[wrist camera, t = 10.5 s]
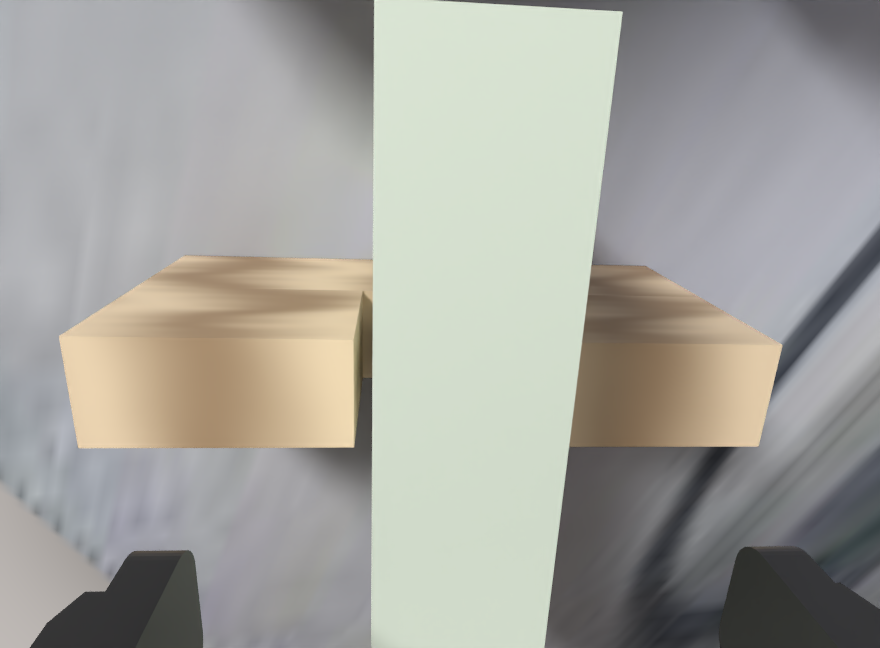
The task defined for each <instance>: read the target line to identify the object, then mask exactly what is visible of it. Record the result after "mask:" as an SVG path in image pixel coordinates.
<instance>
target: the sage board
mask: <svg viewBox="0 0 880 648" xmlns="http://www.w3.org/2000/svg"><path fill="white" fill-rule="evenodd" d="M622 14H623V12H621V11H604V10H587V9H571V8H554V7H537V6H520V5H503V4H486V3H469V2H452V1H435V0H374V133H373V354H372V575H371V648H544V646H545V637H546V629H547V621H548V613H549V605H550V597H551V589H552V581H553V573H554V565H555V556H556V548H557V540H558V532H559V524H560V516H561V508H562V500H563V492H564V484H565V475H566V467H567V459H568V451H569V443H570V435H571V427H572V419H573V411H574V403H575V394H576V386H577V378H578V370H579V362H580V354H581V346H582V338H583V330H584V322H585V313H586V305H587V297H588V289H589V281H590V273H591V265H592V257H593V249H594V241H595V232H596V224H597V216H598V208H599V200H600V192H601V184H602V176H603V168H604V159H605V151H606V143H607V135H608V127H609V119H610V111H611V103H612V95H613V87H614V78H615V70H616V62H617V54H618V46H619V38H620V30H621V22H622Z"/></svg>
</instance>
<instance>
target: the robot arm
mask: <svg viewBox="0 0 880 648" xmlns="http://www.w3.org/2000/svg"><path fill="white" fill-rule="evenodd" d="M719 641H720V648H880V609H878V608H877V607H875V606H874V605H872V604H871V603H870V602H868V601H867V600H865V599H864V598H862V597H861V596H859V595H858V594H856V593H855V592H853V591H852V590H850V589H849V588H847V587H846V586H844V585H843V584H841V583H835V582H834V581H833V580H832V579H831V578H830V577H829V576H828V575H827V574H826V573H825V572H824V571H823V570H822V568H821V567H820V566H819V565H818V564H817V563H816V562H815V561H814V560H813V559H812V558H811V557H810V556H809V555H808V554H807V553H806V552H805V551H804V550H802V549H801V548H798V547H794V546H768V547H744V548H742V549H741V550H740V551H739V553H738V555H737V557H736V560H735V564H734V568H733V573H732V577H731V581H730V585H729V589H728V593H727V597H726V601H725V605H724V609H723V614H722V618H721V622H720V627H719ZM30 648H203V630H202V621H201V612H200V603H199V594H198V585H197V576H196V567H195V560H194V556H193V554H192V552H191V551H189V550H182V551H134V552H132V553H130V555H129V556H128V557H127V558H126V559H125V561H124V562H123V564H122V566H121V567H120V569H119V571H118V572H117V574H116V575H115V577H114V579H113V580H112V582H111V583H110V585H109V587H108V588H107V590H106V591H105V592H84V593H83V594H82V595H81V596H79V597H78V598H77V599H76V600H75V601H73V602H72V603H71V604H70V605H68V606H67V607H66V608H65V609H64V610H62V611H61V612H60V613H59V614H58V615H56V616H55V617H54V618H53V619H52V620H50V621H49V622H48V623H47V624H46V626H45V627H44V628H43V630H42V631H41V633H40V634H39V635H38V637H37V638H36V640H35V641H34V643H33V644H32V645H31V647H30Z"/></svg>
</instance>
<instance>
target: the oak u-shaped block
mask: <svg viewBox="0 0 880 648" xmlns="http://www.w3.org/2000/svg"><path fill="white" fill-rule="evenodd" d="M59 339H60V345H61V351H62V357H63V362H64V368H65V374H66V380H67V385H68V391H69V397H70V403H71V409H72V414H73V420H74V426H75V432H76V437H77V443H78V448H337V447H354V444H355V436H356V428H357V420H358V412H359V404H360V395H361V387H362V379H363V378H372V354H373V260H361V259H317V258H274V257H231V256H187V255H185V256H183V257H182V258H180V259H179V260H177V261H175V262H174V263H172V264H171V265H169V266H168V267H166V268H164V269H163V270H161V271H160V272H158V273H157V274H155V275H154V276H152V277H150V278H149V279H147V280H146V281H144V282H143V283H141V284H140V285H138V286H136V287H135V288H133V289H132V290H130V291H129V292H127V293H126V294H124V295H122V296H121V297H119V298H118V299H116V300H115V301H113V302H112V303H110V304H108V305H107V306H105V307H104V308H102V309H101V310H99V311H98V312H96V313H94V314H93V315H91V316H90V317H88V318H87V319H85V320H84V321H82V322H80V323H79V324H77V325H76V326H74V327H73V328H71V329H69V330H68V331H66V332H65V333H63V334H62V335H60V336H59ZM781 349H782V344H780V343H778V342H776V341H775V340H773V339H771V338H769V337H768V336H766V335H764V334H762V333H761V332H759V331H757V330H756V329H754V328H752V327H750V326H749V325H747V324H745V323H743V322H742V321H740V320H738V319H736V318H735V317H733V316H731V315H729V314H728V313H726V312H724V311H723V310H721V309H719V308H717V307H716V306H714V305H712V304H710V303H709V302H707V301H705V300H703V299H702V298H700V297H698V296H697V295H695V294H693V293H691V292H690V291H688V290H686V289H684V288H683V287H681V286H679V285H677V284H676V283H674V282H672V281H671V280H669V279H667V278H665V277H664V276H662V275H660V274H658V273H657V272H655V271H653V270H651V269H650V268H648V267H646V266H621V265H591V273H590V281H589V289H588V297H587V305H586V313H585V322H584V330H583V338H582V346H581V354H580V362H579V370H578V378H577V386H576V394H575V403H574V411H573V419H572V427H571V435H570V443H569V447H758V446H759V442H760V438H761V434H762V429H763V425H764V421H765V417H766V413H767V408H768V404H769V400H770V396H771V391H772V387H773V383H774V379H775V375H776V370H777V366H778V362H779V358H780V354H781Z"/></svg>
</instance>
